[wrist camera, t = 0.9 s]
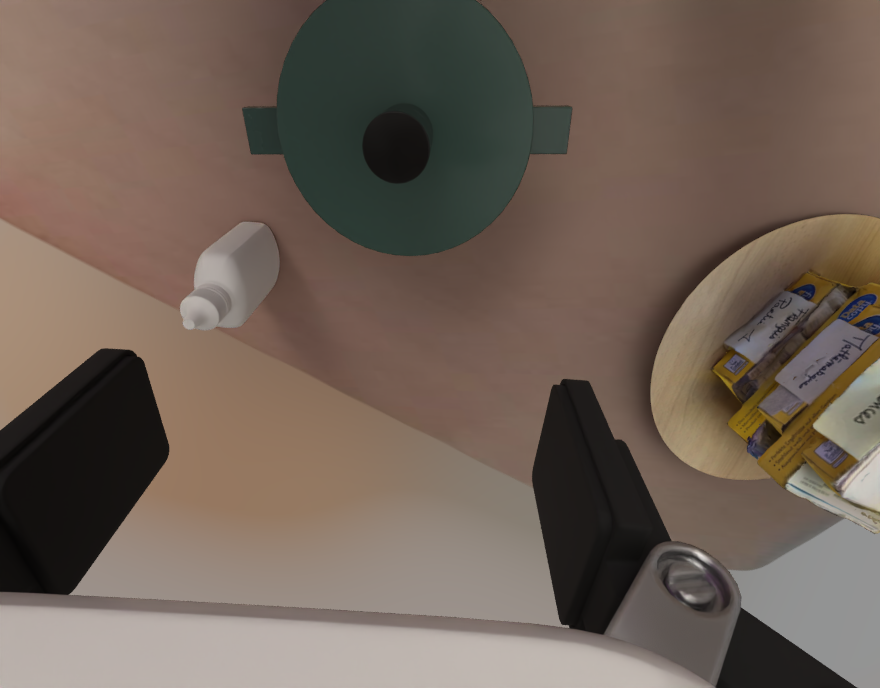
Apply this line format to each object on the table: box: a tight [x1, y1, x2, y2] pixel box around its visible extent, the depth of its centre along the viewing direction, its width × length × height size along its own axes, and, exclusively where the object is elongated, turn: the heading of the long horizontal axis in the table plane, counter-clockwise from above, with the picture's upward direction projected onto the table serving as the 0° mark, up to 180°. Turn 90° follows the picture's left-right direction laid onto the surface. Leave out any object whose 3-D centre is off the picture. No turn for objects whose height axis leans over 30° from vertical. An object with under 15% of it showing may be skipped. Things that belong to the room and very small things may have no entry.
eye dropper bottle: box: [180, 222, 280, 330], centre depth 33 cm, size 4×6×12 cm
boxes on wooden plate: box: [651, 214, 880, 534], centre depth 35 cm, size 25×25×17 cm
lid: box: [277, 0, 534, 256], centre depth 23 cm, size 14×14×6 cm
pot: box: [242, 106, 572, 154], centre depth 29 cm, size 13×18×8 cm
